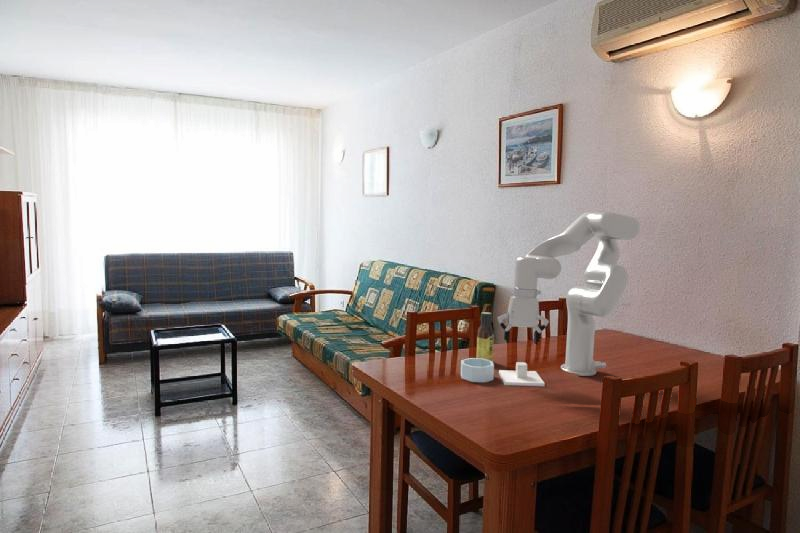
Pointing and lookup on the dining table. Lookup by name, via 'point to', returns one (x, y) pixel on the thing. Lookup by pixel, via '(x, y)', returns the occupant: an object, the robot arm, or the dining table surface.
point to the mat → (517, 385)
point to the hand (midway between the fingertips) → (521, 342)
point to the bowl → (477, 370)
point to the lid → (521, 376)
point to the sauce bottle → (485, 338)
